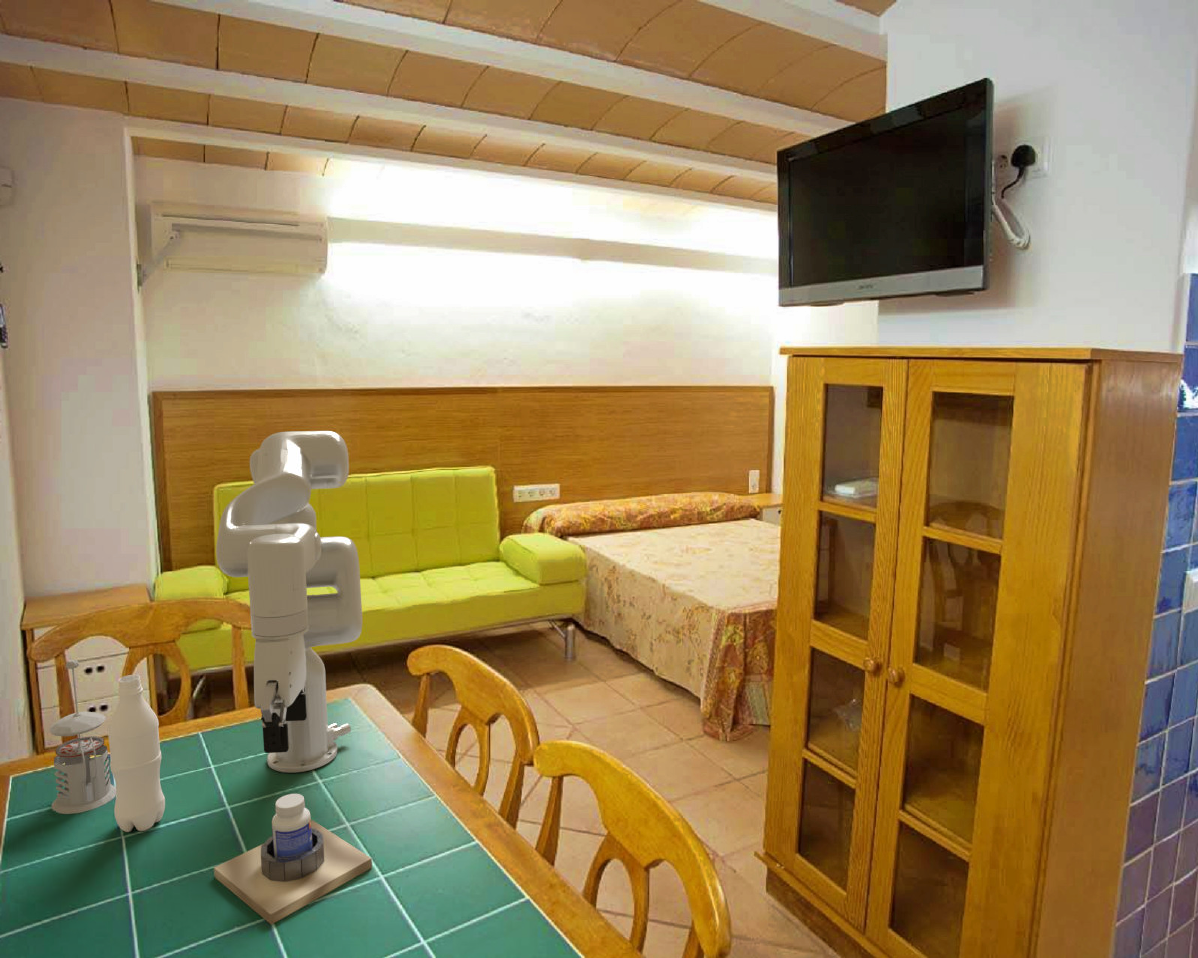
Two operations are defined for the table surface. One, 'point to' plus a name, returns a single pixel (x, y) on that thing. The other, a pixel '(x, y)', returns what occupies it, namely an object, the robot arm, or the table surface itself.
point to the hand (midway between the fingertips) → (286, 735)
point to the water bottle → (135, 758)
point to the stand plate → (290, 896)
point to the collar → (292, 861)
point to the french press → (81, 762)
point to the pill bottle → (291, 827)
